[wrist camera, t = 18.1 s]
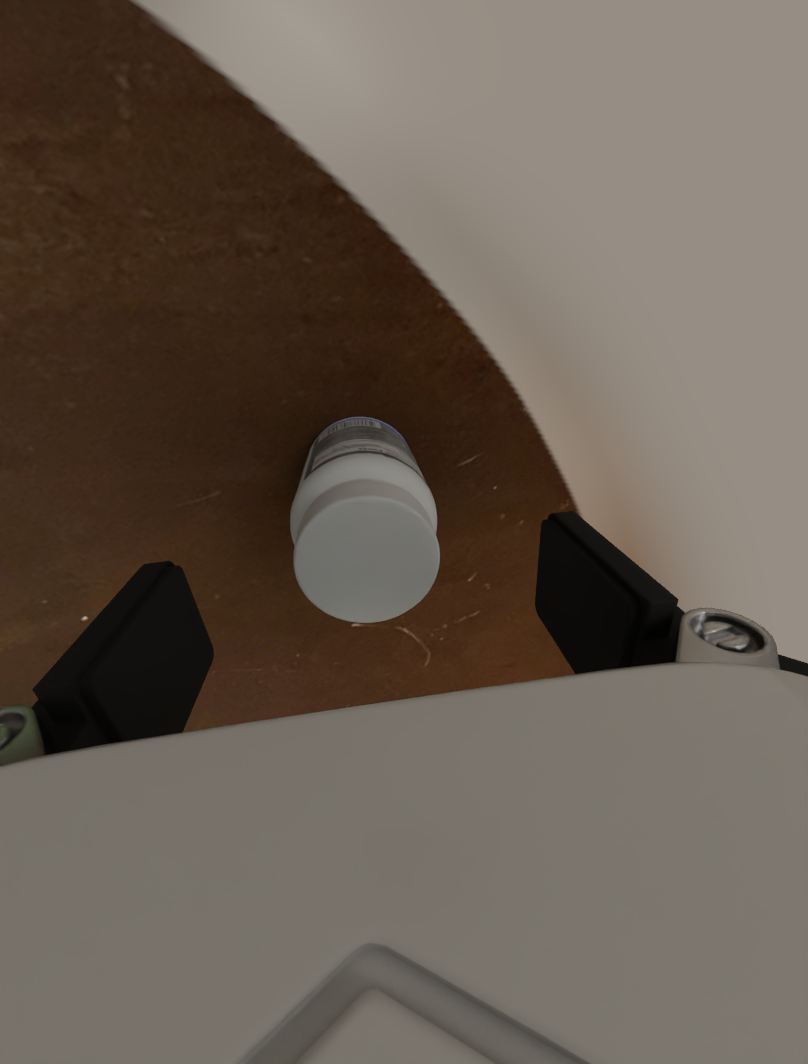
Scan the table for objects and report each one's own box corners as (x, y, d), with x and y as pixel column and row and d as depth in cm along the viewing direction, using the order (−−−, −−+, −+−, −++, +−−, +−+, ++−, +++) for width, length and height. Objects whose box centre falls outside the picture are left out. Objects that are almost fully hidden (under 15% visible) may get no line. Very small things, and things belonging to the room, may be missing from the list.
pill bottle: (383, 530, 20) (402, 654, 13) (290, 490, 18) (250, 604, 11) (432, 444, 18) (487, 530, 11) (335, 393, 17) (322, 450, 9)
